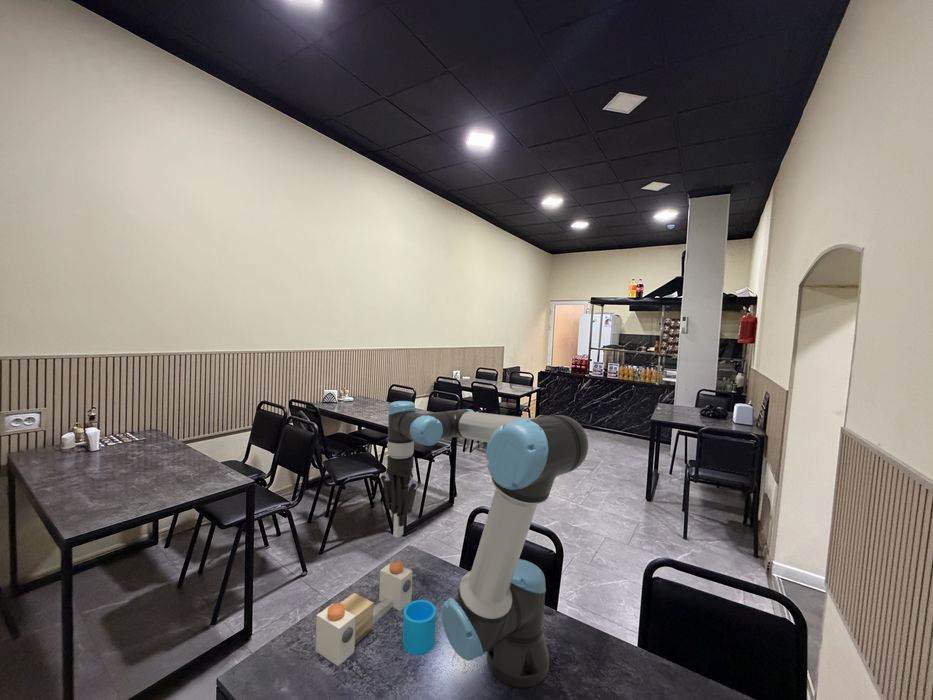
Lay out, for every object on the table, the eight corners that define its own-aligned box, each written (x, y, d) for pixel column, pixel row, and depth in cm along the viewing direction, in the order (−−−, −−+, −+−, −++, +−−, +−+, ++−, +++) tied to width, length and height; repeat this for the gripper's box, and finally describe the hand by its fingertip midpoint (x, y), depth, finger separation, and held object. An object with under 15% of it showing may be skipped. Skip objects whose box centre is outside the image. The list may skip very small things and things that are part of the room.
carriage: (372, 632, 100) (373, 602, 100) (354, 648, 95) (355, 616, 94) (353, 621, 103) (354, 592, 103) (335, 636, 98) (336, 605, 98)
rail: (392, 607, 110) (392, 600, 110) (346, 646, 95) (346, 639, 95) (386, 603, 111) (386, 597, 111) (339, 642, 97) (339, 634, 97)
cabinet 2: (412, 601, 113) (413, 571, 112) (400, 611, 108) (402, 580, 108) (390, 591, 117) (391, 562, 117) (379, 600, 113) (380, 570, 112)
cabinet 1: (355, 652, 94) (356, 616, 94) (338, 667, 90) (340, 629, 89) (332, 637, 98) (333, 603, 98) (315, 651, 94) (316, 615, 93)
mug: (429, 658, 93) (430, 625, 93) (397, 651, 95) (398, 619, 94) (442, 622, 105) (443, 593, 105) (413, 617, 106) (414, 588, 106)
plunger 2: (405, 581, 113) (406, 564, 113) (396, 588, 110) (397, 570, 110) (395, 576, 115) (395, 559, 115) (386, 583, 112) (386, 566, 112)
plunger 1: (347, 627, 94) (348, 607, 94) (334, 638, 91) (335, 617, 91) (336, 621, 96) (337, 600, 96) (323, 631, 93) (324, 610, 93)
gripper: (426, 455, 111) (424, 536, 112) (392, 448, 118) (390, 524, 118) (410, 462, 105) (407, 547, 105) (374, 454, 112) (372, 534, 112)
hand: (398, 535), depth 112 cm, fingers closed
